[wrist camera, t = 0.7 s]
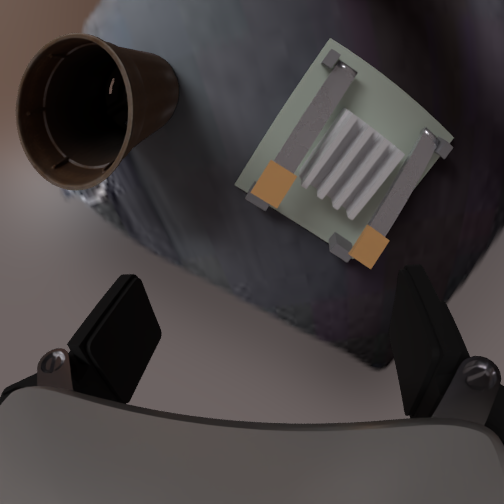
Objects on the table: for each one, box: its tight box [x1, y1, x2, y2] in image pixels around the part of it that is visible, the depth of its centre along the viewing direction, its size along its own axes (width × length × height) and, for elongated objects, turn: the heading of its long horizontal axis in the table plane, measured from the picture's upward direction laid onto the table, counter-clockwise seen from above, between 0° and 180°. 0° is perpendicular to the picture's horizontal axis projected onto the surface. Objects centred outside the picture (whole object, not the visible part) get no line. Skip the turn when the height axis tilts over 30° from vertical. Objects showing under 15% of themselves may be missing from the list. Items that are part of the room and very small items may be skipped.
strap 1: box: [251, 60, 358, 208], centre depth 31 cm, size 19×3×2 cm, turn 150°
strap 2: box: [348, 127, 440, 269], centre depth 33 cm, size 19×3×2 cm, turn 150°
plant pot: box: [16, 33, 179, 190], centre depth 30 cm, size 16×16×16 cm
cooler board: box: [235, 38, 454, 262], centre depth 34 cm, size 23×20×6 cm
